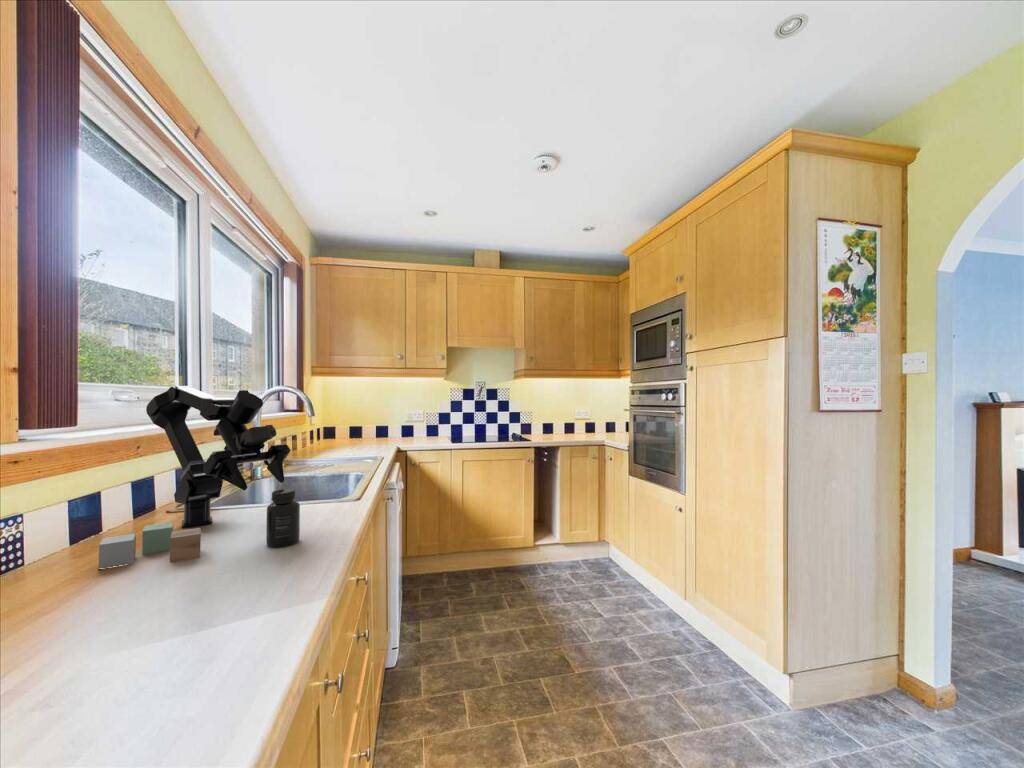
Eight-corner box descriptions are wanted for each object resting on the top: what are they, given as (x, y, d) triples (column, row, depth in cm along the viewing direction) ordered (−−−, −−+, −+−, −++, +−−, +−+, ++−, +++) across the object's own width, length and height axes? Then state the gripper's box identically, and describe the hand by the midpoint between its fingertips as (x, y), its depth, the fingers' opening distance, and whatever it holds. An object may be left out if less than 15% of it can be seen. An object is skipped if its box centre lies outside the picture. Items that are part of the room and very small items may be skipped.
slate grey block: (102, 562, 88) (103, 538, 88) (135, 557, 91) (135, 533, 91) (98, 570, 84) (99, 544, 84) (132, 564, 87) (133, 539, 87)
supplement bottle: (305, 538, 102) (306, 488, 103) (287, 549, 96) (288, 494, 96) (278, 537, 103) (279, 487, 103) (258, 547, 96) (260, 493, 97)
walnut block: (171, 555, 92) (171, 531, 92) (200, 550, 95) (200, 527, 95) (169, 563, 88) (170, 538, 88) (200, 557, 91) (200, 533, 91)
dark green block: (144, 548, 96) (145, 525, 96) (172, 543, 99) (173, 521, 99) (142, 554, 92) (142, 531, 92) (171, 549, 95) (172, 527, 95)
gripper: (211, 416, 97) (241, 469, 92) (286, 413, 114) (315, 457, 109) (190, 449, 100) (218, 502, 95) (266, 441, 117) (293, 486, 112)
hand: (265, 485), depth 103 cm, fingers open, 9 cm apart
